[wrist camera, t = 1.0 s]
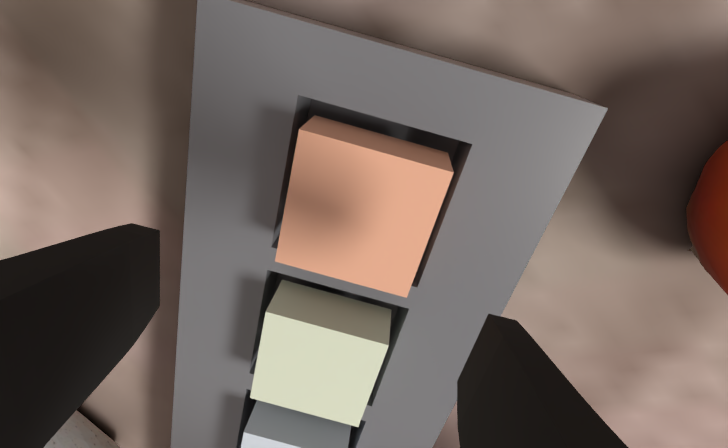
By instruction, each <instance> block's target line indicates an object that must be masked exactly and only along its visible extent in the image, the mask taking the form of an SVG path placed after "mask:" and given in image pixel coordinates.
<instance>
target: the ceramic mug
mask: <svg viewBox="0 0 728 448" xmlns="http://www.w3.org/2000/svg"><path fill="white" fill-rule="evenodd" d="M44 448H120V447H119V445H118V444H117V443H116V442H114V441H113V440H112V439H111V438H110V437H108V436H107V435H106V434H105V433H103V432H102V431H101V430H100V429H99V428H97V427H96V426H95V425H94V424H93V423H92V422H90V421H89V420H88V419H87V418H86V417H84V416H83V415H82V414H81V413H79V412H78V411H77V410H76V411H75V412H74V413H73V415H72V416H71V417H70V418H69V419H68V420H67V421H66V422H65V424H64V425H63V426H62V427H61V428H60V429H59V430H58V431H57V433H56V434H55V435H54V436H53V437H52V438H51V439H50V441H49V442H48V443H47V444H46V445H45V447H44Z"/></svg>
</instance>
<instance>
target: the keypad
mask: <svg viewBox="0 0 728 448" xmlns="http://www.w3.org/2000/svg"><path fill="white" fill-rule="evenodd" d="M607 109H608V108H606V107H604V106H601V105H599V104H596V103H594V102H591V101H589V100H587V99H584V98H582V97H579V96H577V95H574V94H572V93H569V92H565V91H562V90H558V89H555V88H551V87H548V86H544V85H541V84H537V83H534V82H530V81H527V80H523V79H520V78H516V77H513V76H509V75H506V74H502V73H499V72H495V71H492V70H488V69H485V68H481V67H478V66H474V65H471V64H467V63H464V62H460V61H457V60H453V59H450V58H446V57H443V56H439V55H436V54H432V53H429V52H425V51H422V50H418V49H415V48H411V47H408V46H404V45H401V44H397V43H394V42H390V41H387V40H383V39H380V38H376V37H373V36H369V35H366V34H362V33H359V32H355V31H352V30H348V29H345V28H341V27H338V26H334V25H331V24H327V23H324V22H320V21H317V20H313V19H310V18H306V17H302V16H299V15H295V14H292V13H288V12H285V11H281V10H278V9H274V8H271V7H267V6H264V5H260V4H257V3H253V2H250V1H246V0H197V15H196V32H195V48H194V65H193V81H192V98H191V115H190V131H189V148H188V165H187V181H186V198H185V215H184V231H183V248H182V265H181V281H180V298H179V315H178V331H177V348H176V365H175V381H174V398H173V415H172V431H171V448H241V444H242V438H243V433H244V430H245V428H246V425H247V423H248V420H249V418H250V416H251V413H252V411H253V408H254V406H255V404H256V401H257V400H256V399H252V398H250V395H251V389H252V384H253V378H254V373H255V367H256V362H257V356H258V351H259V345H260V340H261V334H262V329H263V323H264V318H265V313H266V310H267V308H268V306H269V304H270V302H271V300H272V298H273V296H274V295H275V293H276V291H277V289H278V287H279V285H280V283H281V281H282V280H286V281H289V282H293V283H297V284H300V285H304V286H308V287H311V288H315V289H318V290H322V291H326V292H329V293H333V294H337V295H340V296H344V297H347V298H351V299H355V300H358V301H362V302H366V303H369V304H373V305H377V306H380V307H384V308H387V309H391V324H390V338H389V347H388V349H387V352H386V355H385V357H384V360H383V363H382V365H381V368H380V371H379V373H378V376H377V379H376V381H375V384H374V387H373V389H372V392H371V395H370V397H369V400H368V403H367V405H366V408H365V411H364V413H363V416H362V419H361V421H360V424H359V427H355V426H352V425H351V431H350V437H349V444H348V448H432V447H433V446H434V444H435V442H436V440H437V438H438V436H439V434H440V432H441V430H442V428H443V426H444V424H445V422H446V420H447V418H448V417H449V415H450V413H451V411H452V409H453V407H454V405H455V403H456V401H457V380H458V378H459V376H460V374H461V372H462V370H463V368H464V365H465V363H466V361H467V359H468V357H469V355H470V352H471V350H472V348H473V346H474V344H475V342H476V340H477V337H478V335H479V333H480V331H481V329H482V327H483V324H484V322H485V320H486V318H487V316H488V314H492V315H496V316H501V314H502V312H503V310H504V308H505V306H506V305H507V303H508V301H509V299H510V297H511V295H512V293H513V291H514V289H515V287H516V285H517V283H518V281H519V279H520V278H521V276H522V274H523V272H524V270H525V268H526V266H527V264H528V262H529V260H530V258H531V256H532V254H533V252H534V250H535V249H536V247H537V245H538V243H539V241H540V239H541V237H542V235H543V233H544V231H545V229H546V227H547V225H548V223H549V222H550V220H551V218H552V216H553V214H554V212H555V210H556V208H557V206H558V204H559V202H560V200H561V198H562V196H563V194H564V193H565V191H566V189H567V187H568V185H569V183H570V181H571V179H572V177H573V175H574V173H575V171H576V169H577V167H578V165H579V164H580V162H581V160H582V158H583V156H584V154H585V152H586V150H587V148H588V146H589V144H590V142H591V140H592V138H593V137H594V135H595V133H596V131H597V129H598V127H599V125H600V123H601V121H602V119H603V117H604V115H605V113H606V111H607ZM314 115H316V116H320V117H323V118H327V119H330V120H334V121H337V122H341V123H345V124H348V125H352V126H355V127H359V128H362V129H366V130H369V131H373V132H376V133H380V134H384V135H387V136H391V137H394V138H398V139H401V140H405V141H408V142H412V143H415V144H419V145H423V146H426V147H430V148H433V149H437V150H440V151H444V152H447V153H448V154H449V158H450V161H451V165H452V168H453V172H454V173H453V176H452V179H451V181H450V184H449V187H448V189H447V192H446V195H445V197H444V200H443V203H442V205H441V208H440V211H439V213H438V216H437V219H436V221H435V224H434V227H433V229H432V232H431V235H430V237H429V240H428V243H427V245H426V248H425V251H424V253H423V256H422V259H421V261H420V264H419V267H418V269H417V272H416V275H415V277H414V280H413V283H412V285H411V288H410V291H409V293H408V296H407V298H406V297H402V296H398V295H395V294H391V293H387V292H384V291H380V290H377V289H373V288H369V287H366V286H362V285H358V284H355V283H351V282H348V281H344V280H340V279H337V278H333V277H329V276H326V275H322V274H318V273H315V272H311V271H308V270H304V269H300V268H297V267H293V266H289V265H286V264H282V263H279V262H275V258H276V252H277V247H278V241H279V236H280V230H281V225H282V220H283V214H284V209H285V203H286V198H287V192H288V187H289V181H290V176H291V170H292V165H293V159H294V154H295V148H296V143H297V138H298V132H299V129H300V128H301V127H302V126H303V125H304V124H305V123H306V122H308V121H309V120H310V119H311V118H312V117H313V116H314Z"/></svg>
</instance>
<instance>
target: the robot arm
mask: <svg viewBox="0 0 728 448" xmlns="http://www.w3.org/2000/svg"><path fill="white" fill-rule="evenodd" d="M159 306H160V230H156V229H152V228H148V227H144V226H140V225H136V224H132V223H131V224H127V225H122V226H118V227H114V228H110V229H106V230H103V231H99V232H95V233H92V234H89V235H85V236H82V237H78V238H75V239H72V240H68V241H65V242H62V243H58V244H55V245H52V246H48V247H45V248H42V249H38V250H35V251H31V252H28V253H25V254H21V255H18V256H14V257H11V258H7V259H4V260H0V448H44V447H45V445H46V444H47V443H48V442H49V441H50V439H51V438H52V437H53V436H54V435H55V434H56V433H57V431H58V430H59V429H60V428H61V427H62V426H63V425H64V424H65V422H66V421H67V420H68V419H69V418H70V417H71V416H72V415H73V413H74V412H75V411H76V410H77V409H78V408H79V407H80V406H81V404H82V403H83V402H84V401H85V400H86V399H87V398H88V397H89V395H90V394H91V393H92V392H93V391H94V390H95V389H96V388H97V386H98V385H99V384H100V383H101V382H102V381H103V380H104V379H105V377H106V376H107V375H108V374H109V373H110V372H111V370H112V369H113V368H114V367H115V366H116V365H117V364H118V362H119V361H120V360H121V359H122V358H123V357H124V356H125V354H126V353H127V352H128V351H129V350H130V349H131V347H132V346H133V345H134V343H135V342H136V341H137V339H138V338H139V336H140V335H141V333H142V332H143V331H144V329H145V328H146V326H147V325H148V323H149V322H150V320H151V319H152V317H153V315H154V314H155V312H156V311H157V309H158V308H159ZM457 414H458V432H459V441H460V448H628V447H627V446H626V445H625V444H624V443H623V442H622V440H621V439H620V438H619V437H618V436H617V435H616V434H615V433H614V432H613V431H612V430H611V429H610V428H609V427H608V425H607V424H606V423H605V422H604V421H603V420H602V419H601V418H600V417H599V415H598V414H597V413H596V412H595V411H594V410H593V409H592V408H591V406H590V405H589V404H588V403H587V402H586V401H585V400H584V398H583V397H582V396H581V395H580V394H579V393H578V391H577V390H576V389H575V388H574V387H573V386H572V384H571V383H570V382H569V381H568V380H567V379H566V377H565V376H564V375H563V374H562V373H561V371H560V370H559V369H558V368H557V367H556V365H555V364H554V363H553V362H552V361H551V360H550V358H549V357H548V356H547V355H546V354H545V352H544V351H543V350H542V349H541V348H540V346H539V345H538V344H537V343H536V342H535V341H534V339H533V338H532V337H531V336H530V335H529V334H528V332H527V331H526V330H525V329H524V328H523V327H522V326H521V325H520V324H519V323H518V322H517V321H516V320H512V319H508V318H504V317H500V316H496V315H492V314H488V316H487V318H486V320H485V322H484V324H483V327H482V329H481V331H480V333H479V335H478V337H477V340H476V342H475V344H474V346H473V348H472V350H471V352H470V355H469V357H468V359H467V361H466V363H465V365H464V368H463V370H462V372H461V374H460V376H459V378H458V380H457Z"/></svg>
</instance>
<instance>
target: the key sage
mask: <svg viewBox="0 0 728 448" xmlns="http://www.w3.org/2000/svg"><path fill="white" fill-rule="evenodd" d="M390 324H391V309H387V308H384V307H380V306H377V305H373V304H369V303H366V302H362V301H358V300H355V299H351V298H347V297H344V296H340V295H337V294H333V293H329V292H326V291H322V290H318V289H315V288H311V287H308V286H304V285H300V284H297V283H293V282H289V281H286V280H282V281H281V283H280V285H279V287H278V289H277V291H276V293H275V295H274V296H273V298H272V300H271V302H270V304H269V306H268V308H267V310H266V313H265V318H264V323H263V329H262V334H261V340H260V345H259V351H258V356H257V362H256V367H255V373H254V378H253V384H252V389H251V395H250V398H252V399H256V400H259V401H263V402H267V403H270V404H274V405H278V406H281V407H285V408H289V409H293V410H296V411H300V412H304V413H307V414H311V415H315V416H318V417H322V418H326V419H330V420H333V421H337V422H341V423H344V424H348V425H352V426H355V427H359V424H360V421H361V419H362V416H363V413H364V411H365V408H366V405H367V403H368V400H369V397H370V395H371V392H372V389H373V387H374V384H375V381H376V379H377V376H378V373H379V371H380V368H381V365H382V363H383V360H384V357H385V355H386V352H387V349H388V347H389V338H390Z"/></svg>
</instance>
